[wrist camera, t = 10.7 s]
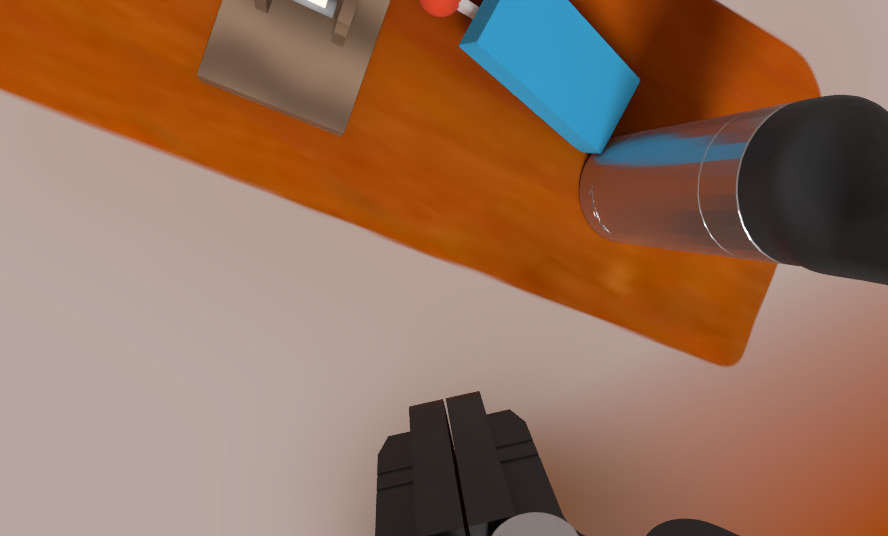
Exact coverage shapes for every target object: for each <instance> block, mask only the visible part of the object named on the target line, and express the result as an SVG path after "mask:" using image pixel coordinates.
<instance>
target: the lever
mask: <svg viewBox="0 0 888 536" xmlns="http://www.w3.org/2000/svg"><path fill="white" fill-rule="evenodd" d="M419 2H420V4H421V6H422V7H423V9H424V10H426V11H427V12H428V13H429V14H431V15H433V16H436V17H446V16H449V15H451V14H452V13H454V12H455V11H456V10H458V11H460V12H461V13H463V14H465V15H466V16H468V17H469V18H471V19H473V20H472V22H471V24H470V26H469V27H468V29H467V31H466V33H465V35H464V37H463V38H462V40H461V42H460V44H459V47H460V48H461V49H462V50H464V51H465V52H466V53H467V54H468V55H469V56H470V57H472V58H473V59H474V60H475V61H476V62H477V63H479V64H480V65H481V66H482V67H483V68H484V69H485V70H487V71H488V72H489V73H490V74H491V75H492V76H493V77H495V78H496V79H497V80H498V81H499V82H500V83H501V84H503V85H504V86H505V87H506V88H507V89H508V90H509V91H511V92H512V93H513V94H514V95H515V96H516V97H517V98H519V99H520V100H521V101H522V102H523V103H524V104H525V105H527V106H528V107H529V108H530V109H531V110H532V111H533V112H535V113H536V114H537V115H538V116H539V117H540V118H541V119H543V120H544V121H545V122H546V123H547V124H548V125H549V126H551V127H552V128H553V129H554V130H555V131H556V132H558V133H559V134H560V135H561V136H562V137H563V138H564V139H566V140H567V141H568V142H569V143H570V144H571V145H573V146H574V147H576V148H577V149H578V150H580V151H581V152H585V153H595V154H601V153H602V152H603V150H604V148H605V146H606V144H607V142H608V140H609V139H610V137H611V135H612V133H613V131H614V129H615V127H616V125H617V124H618V122H619V120H620V118H621V116H622V114H623V112H624V111H625V109H626V107H627V105H628V103H629V101H630V99H631V97H632V96H633V94H634V92H635V90H636V88H637V86H638V84H639V82H640V79H639V78H638V77H637V75H636V74H635V73H634V72H633V71H632V70H631V69H630V68H629V67H628V66H627V64H626V63H625V62H624V61H623V60H622V59H621V58H620V57H619V56H618V55H617V53H616V52H615V51H614V50H613V49H612V48H611V47H610V46H609V45H608V44H607V42H606V41H605V40H604V39H603V38H602V37H601V36H600V35H599V34H598V32H597V31H596V30H595V29H594V28H593V27H592V26H591V25H590V24H589V23H588V21H587V20H586V19H585V18H584V17H583V16H582V15H581V14H580V13H579V12H578V10H577V9H576V8H575V7H574V6H573V5H572V4H571V3H570V2H569V1H568V0H483V2H482V4H481V5H480V7H478V6H477V5H475V4H474V3H472V2H470V1H469V0H419Z"/></svg>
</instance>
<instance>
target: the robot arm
mask: <svg viewBox="0 0 888 536" xmlns="http://www.w3.org/2000/svg"><path fill="white" fill-rule="evenodd" d="M579 193H580V203H581V206H582V210H583V213H584V215H585V217H586V219H587V221H588V223H589V224H590V225H591V226H592V228H593V229H594V230H595V231H596V232H597V233H599V234H600V235H601V236H603V237H605V238H607V239H609V240H611V241H615V242H620V243H627V244H635V245H643V246H649V247H656V248H664V249H672V250H679V251H687V252H694V253H702V254H710V255H717V256H725V257H733V258H740V259H750V260H757V261H765V262H772V263H781V264H788V265H795V266H802V267H804V268H807V269H809V270H811V271H814V272H818V273H822V274H827V275H832V276H838V277H844V278H850V279H857V280H864V281H868V282H874V283H879V284H885V285H888V111H886V110H885V109H884V108H882V107H881V106H880V105H878V104H876V103H875V102H872V101H870V100H868V99H865V98H862V97H858V96H849V95H833V96H824V97H818V98H813V99H807V100H802V101H798V102H792V103H787V104H782V105H777V106H772V107H766V108H761V109H756V110H752V111H747V112H742V113H736V114H731V115H726V116H721V117H715V118H710V119H705V120H700V121H695V122H689V123H684V124H679V125H674V126H668V127H663V128H658V129H652V130H646V131H641V132H636V133H631V134H626V135H622V136H617V137H614V138H611V139H609V140H608V142H607V144H606V146H605V148H604V150H603V152H602V153H601V154H595V153H592V154H591V156H590V157H589V159H588V161H587V162H586V164H585V166H584V169H583V172H582V175H581V179H580V188H579ZM446 402H447V408H448V413H449V419H450V424H451V430H452V436H453V441H452V437H451V432H450V427H449V423H448V419H447V414H446V409H445V405H444V401H443V399H441V400H437V401H432V402H428V403H423V404H419V405H414V406H410V407H409V415H410V416H409V417H410V432H406V433H401V434H397V435H392V436H388V438H387V440H386V442H385V443H384V445H383V447H382V449H381V450H380V452H379V454H378V466H377V467H378V468H377V475H378V478H377V497H376V498H377V499H376V528H375V529H376V530H375V536H584V535H582V534H581V533H579V532H578V531H576V530H575V529H574V528H573V527H572V526H571V525H570V524H569V523H568V522H567V521H566V519H565V518H564V516H563V514H562V512H561V509H560V507H559V505H558V502H557V500H556V497H555V494H554V492H553V489H552V487H551V484H550V482H549V480H548V477H547V475H546V472H545V469H544V467H543V464H542V462H541V459H540V458H539V455H538V452H537V450H536V447H535V445H534V443H533V441H532V437H531V434H530V432H529V430H528V427H527V424H526V422H525V421H523V420H522V419H521V418H520V417H519V416H517V415H516V414H515V413H513V412H512V411H511V410H505V411H501V412H496V413H491V414H487V415H486V412H485V409H484V405H483V402H482V398H481V395H480V392H479V391H477V392H473V393H468V394H464V395H459V396H455V397H450V398H446ZM453 442H454V445H453ZM454 447H455V450H454ZM455 453H456V454H455ZM647 536H739V535H736V534H734V533H732V532H730V531H728V530H725V529H723V528H721V527H719V526H716V525H714V524H711V523H708V522H704V521H701V520H695V519H676V520H670V521H666V522H664V523H661V524H659V525H658V526H656V527H654V528H653V529H652V530H651V531H650V532H649V533H648V534H647Z"/></svg>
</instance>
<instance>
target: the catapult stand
mask: <svg viewBox="0 0 888 536" xmlns="http://www.w3.org/2000/svg"><path fill="white" fill-rule="evenodd" d="M389 2H390V0H338V3H337V6H336V9H335V12H334V15H333V18H330V17H328V16H325V15H323V14H321V13H319V12H317V11H315V10H312V9H310V8H308V7H306V6H304V5H302V4H299V3H297V2H295V1H293V0H222V3H221V6H220V9H219V12H218V15H217V18H216V21H215V24H214V27H213V30H212V32H211V35H210V38H209V41H208V44H207V47H206V50H205V53H204V56H203V59H202V62H201V65H200V68H199V71H198V74H197V75H198V77H199V78H200V79H201V81H203V82H205V83H208V84H210V85H213V86H215V87H218V88H220V89H223V90H225V91H228V92H230V93H233V94H235V95H238V96H240V97H243V98H245V99H248V100H250V101H253V102H255V103H258V104H260V105H263V106H265V107H268V108H270V109H273V110H275V111H278V112H280V113H283V114H285V115H288V116H290V117H293V118H295V119H298V120H300V121H303V122H305V123H308V124H310V125H313V126H315V127H318V128H320V129H323V130H325V131H328V132H330V133H333V134H335V135H338V136H342V135H343V134H344V132H345V129H346V126H347V123H348V120H349V117H350V114H351V112H352V109H353V106H354V103H355V100H356V97H357V94H358V91H359V89H360V86H361V83H362V80H363V77H364V74H365V71H366V68H367V66H368V63H369V60H370V57H371V54H372V51H373V48H374V45H375V43H376V40H377V37H378V34H379V31H380V28H381V25H382V22H383V20H384V17H385V14H386V11H387V8H388V5H389Z"/></svg>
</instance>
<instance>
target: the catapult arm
mask: <svg viewBox="0 0 888 536" xmlns="http://www.w3.org/2000/svg"><path fill="white" fill-rule="evenodd" d="M293 1H295V2H297V3H299V4H302V5H304V6H306V7H308V8H310V9H312V10H315V11H317V12H319V13H321V14H323V15H325V16H328V17H330V18H333V15H334V12H335V9H336V6H337V3H338V0H293Z"/></svg>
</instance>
